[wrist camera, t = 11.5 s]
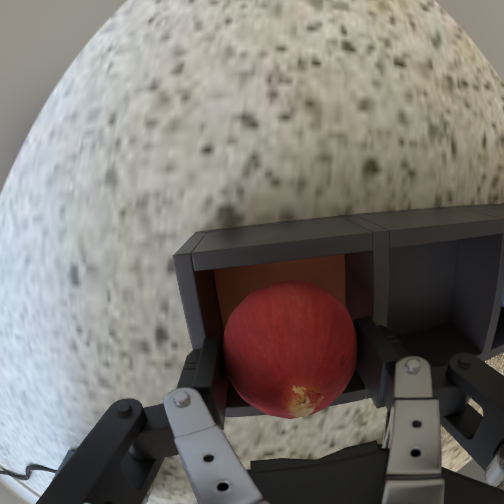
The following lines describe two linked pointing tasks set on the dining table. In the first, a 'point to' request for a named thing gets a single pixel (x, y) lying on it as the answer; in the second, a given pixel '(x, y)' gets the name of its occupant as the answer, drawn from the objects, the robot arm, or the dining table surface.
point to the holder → (361, 278)
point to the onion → (290, 349)
